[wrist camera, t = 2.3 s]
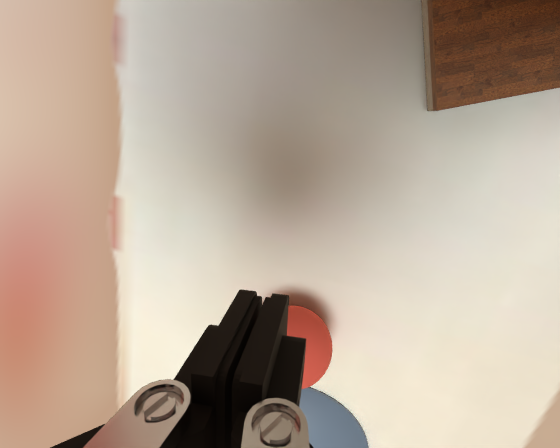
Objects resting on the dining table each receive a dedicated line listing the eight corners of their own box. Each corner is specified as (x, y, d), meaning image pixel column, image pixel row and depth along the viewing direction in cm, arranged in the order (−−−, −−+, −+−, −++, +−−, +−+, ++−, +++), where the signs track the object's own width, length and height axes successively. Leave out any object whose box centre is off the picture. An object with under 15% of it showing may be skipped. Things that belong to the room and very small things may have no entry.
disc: (213, 369, 28) (212, 371, 28) (379, 397, 26) (379, 399, 26) (216, 480, 33) (215, 482, 33) (358, 512, 31) (358, 514, 31)
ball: (263, 287, 25) (243, 332, 20) (336, 296, 24) (335, 345, 19) (261, 346, 27) (243, 401, 21) (329, 356, 26) (327, 417, 21)
